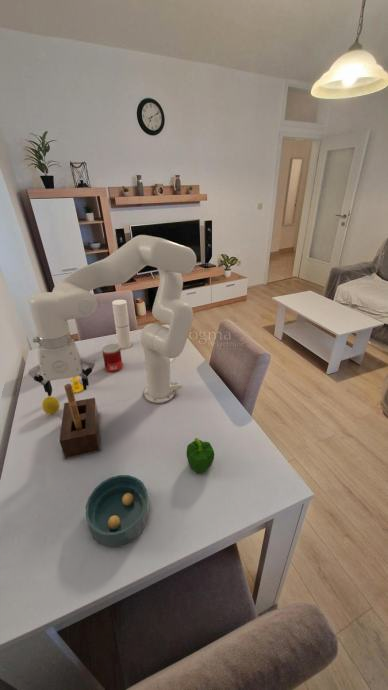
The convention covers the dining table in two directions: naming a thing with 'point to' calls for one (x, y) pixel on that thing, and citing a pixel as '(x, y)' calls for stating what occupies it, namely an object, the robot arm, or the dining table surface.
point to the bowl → (117, 510)
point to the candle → (76, 384)
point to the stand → (80, 439)
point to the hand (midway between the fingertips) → (68, 390)
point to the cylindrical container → (121, 323)
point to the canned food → (112, 357)
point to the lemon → (50, 405)
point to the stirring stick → (73, 406)
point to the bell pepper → (200, 455)
